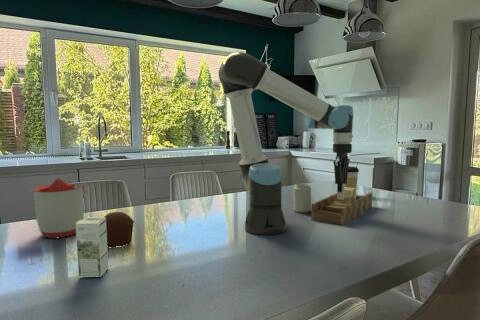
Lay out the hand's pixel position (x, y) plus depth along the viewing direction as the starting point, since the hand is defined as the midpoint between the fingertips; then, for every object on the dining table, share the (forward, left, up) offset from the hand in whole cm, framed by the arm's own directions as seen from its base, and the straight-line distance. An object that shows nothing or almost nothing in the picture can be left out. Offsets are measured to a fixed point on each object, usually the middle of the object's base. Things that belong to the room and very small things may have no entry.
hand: (340, 199), depth 144 cm
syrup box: (-93, +30, -7) cm, 98 cm away
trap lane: (+3, 0, -7) cm, 7 cm away
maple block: (+6, 0, -3) cm, 7 cm away
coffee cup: (+40, +11, -7) cm, 42 cm away
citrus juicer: (-81, +71, -7) cm, 108 cm away
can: (-4, +16, -7) cm, 18 cm away
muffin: (-76, +46, -7) cm, 89 cm away
